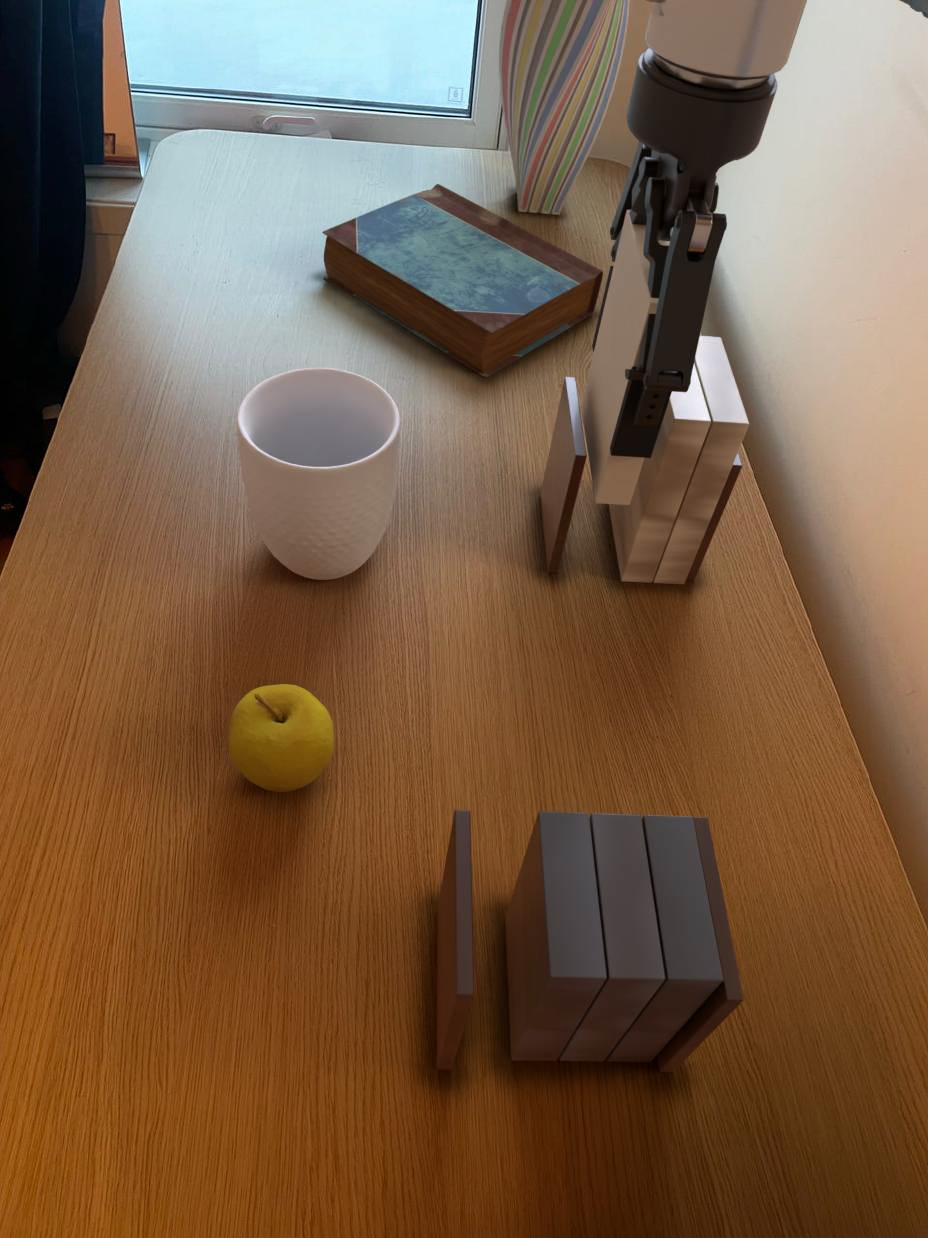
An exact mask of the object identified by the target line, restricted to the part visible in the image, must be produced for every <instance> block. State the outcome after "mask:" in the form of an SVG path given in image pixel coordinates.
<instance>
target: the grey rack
mask: <svg viewBox="0 0 928 1238" xmlns="http://www.w3.org/2000/svg"><path fill="white" fill-rule="evenodd" d="M452 816H453V817H452V824H451V828H450V835H449V840H448V845H447V852H446V857H445V862H444V867H443V874H442V880H441V885H440V891H439V897H438V902H437V929H436V930H437V936H436V937H437V940H436V941H437V942H436V943H437V944H436V945H437V946H436V948H437V949H436V951H437V952H436V956H437V957H436V958H437V959H436V961H437V965H436V966H437V967H436V970H437V971H436V1070H439V1071H443V1070H444V1071H445V1070H446V1071H450V1070H452V1069H453V1066H454V1062H455V1059H456V1056H457V1054H458V1049H459V1047H460V1046H459V1045H460V1043H461V1040H462V1036H463V1034H464V1030H465V1026H466V1022H467V1020H468V1017H469V1013H470V1010H471V1006H472V1003H473V1001H474V996H475V967H474V966H475V964H474V963H475V961H474V915H473V914H474V913H473V912H474V910H473V908H474V907H473V868H472V867H473V866H472V864H473V863H472V861H473V860H472V859H473V858H472V820H471V819H472V815H471V809H460V808H459V809H454V811H453V815H452ZM710 826H711V825H710V822H709V818H708V817H707V816H706V817H705V816H692V815H668V814H667V815H665V814H664V815H663V814H642V815H641V814H636V813H635V814H634V813H633V814H632V813H630V814H629V813H606V812H605V813H603V812H602V813H600V812H599V813H598V812H592V813H591V814H590V813H589V812H574V811H573V812H572V811H571V812H569V811H544V810H542V811H541V810H540V811H538V813H537V816H536V819H535V822H534V825H533V828H532V831H531V834H530V838H529V839H528V840H529V841H528V844H527V847H526V850H525V853H524V856H523V859H522V863H521V866H520V869H519V872H518V874H517V878H516V881H515V885H514V888H513V891H512V894H511V897H510V900H509V903H508V907H507V909H506V913H505V916H504V923H505V924H504V926H505V948H506V949H505V951H506V971H507V973H506V974H507V992H508V995H507V996H508V1016H509V1017H508V1019H509V1020H508V1021H509V1039H510V1040H509V1041H510V1042H509V1043H510V1059H511V1061H521V1062H522V1061H524V1062H525V1061H531V1062H534V1061H535V1062H557V1061H558V1060H559V1061H560V1062H605V1061H606V1062H612V1063H613V1062H617V1063H619V1062H622V1063H625V1062H627V1063H628V1062H629V1063H632V1062H633V1063H652V1061H653V1060H654V1059H655V1058H656V1057H657V1065H658V1071H659V1072H660V1073H673V1072H675V1071H676V1070H677V1069H678V1068H679V1067H680V1066H681V1065H682V1064H683V1063H684V1061H686V1060H687V1059H688V1057H690V1056H691V1055H692V1054H693V1052H694V1051H695V1050H696V1049H698V1048H699V1047H700V1045H702V1044H703V1043H704V1041H705V1040H706V1039H708V1038H709V1037H710V1035H712V1033H713V1032H714V1031H715V1030H716V1029H718V1027H719V1026H720V1025H721V1024H722V1023H723V1022H724V1021H725V1020H726V1019H727V1018H728V1017H729V1016H730V1015H731V1014H732V1013H733V1012H734V1011H735V1010H736V1009H737V1008H738V1007H739V1006H740V1005H741V1004H742V1003H743V1002H744V1000H745V997H744V993H743V992H744V991H743V988H742V982H741V977H740V973H739V968H738V963H737V958H736V952H735V946H734V943H733V936H732V932H731V928H730V923H729V917H728V913H727V907H726V902H725V897H724V892H723V887H722V881H721V877H720V871H719V867H718V861H717V856H716V851H715V847H714V842H713V837H712V831H711V827H710Z"/></svg>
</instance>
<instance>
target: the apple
mask: <svg viewBox="0 0 928 1238" xmlns="http://www.w3.org/2000/svg"><path fill="white" fill-rule="evenodd" d="M334 742H335V731H334V723H333V720H332V717H331V715H330V712H329V711H328V710H327V707H325V706H324V705H323V704H322V702H320V700H319V699H318V698H316V697H315V696H314V695H313V694H312V693H311V691H309V690H307V689H305V688H304V687H301V686H298V685H295V684H289V683H279V684H269V685H263V686H259V687H256V688H254V689H252V690H250V691H249V692H248V693H246V694H245V695H244V696H243V697H242V698H241V699H240V700H239V702H238V703H237V705H236V706H235V708H234V710H233V713H232V715H231V718H230V725H229V735H228V754H229V758H230V759H229V760H230V761H231V762H232V764H233V766H234V767H235V768H236V769H237V770H238V771H239V772H240V774H242V775H243V776H244V777H245V778H246V779H247V780H248V782H250V783H252V784H254V785H256V786H257V787H260V788H261V789H264V790H266V791H270V792H276V793H277V792H278V793H287V792H293V791H296V790H299V789H302V788H304V787H306V786H308V785H310V784H311V783H313V782H314V781H315V780H316V779H317V778H318V777H320V776H321V775H322V774H323V772H325V770H326V768H327V767H328V765H329V763H330V761H331V759H332V756H333V752H334V744H335V743H334Z"/></svg>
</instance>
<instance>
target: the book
mask: <svg viewBox="0 0 928 1238" xmlns="http://www.w3.org/2000/svg"><path fill="white" fill-rule="evenodd" d="M321 233H322V234H323V235H325V236H326V238H325V243H324V244H325V245H324V249H323V263H324V268H325V273H326V274H324V276H323V278H324V279H325V280H327V281H329V282H330V283H331V284H333V285H335V286H336V287H338V288H340V289H341V290H342V291H344V292H346V293H347V294H349V295H351V296H353V297H354V298H356V299H358V300H359V301H360V302H362V303H364V304H365V305H366V306H369V308H372V309H373V310H375V311H376V312H378V313H380V314H381V315H383V316H385V317H386V318H388V319H389V320H391V321H393V322H394V323H396V324H398V325H399V326H400V327H402V328H404V329H406V330H407V331H409V332H410V333H412V334H414V335H415V336H417V337H419V338H420V339H422V340H423V341H425V342H426V343H429V345H431V346H433V347H435V348H436V349H437V350H439V351H441V352H443V353H444V354H446V355H448V357H450V358H452V359H454V360H456V361H457V362H458V363H461V364H462V365H464V366H465V367H467V368H469V369H470V370H472V371H473V372H475V373H476V374H478V375H480V376H481V377H483V378H485V379H487V378H489V377H490V376H492V375H494V374H495V373H497V372H499V371H501V370H502V369H504V368H505V367H507V366H509V365H510V364H512V363H514V362H515V361H517V360H519V359H520V358H522V357H524V356H525V355H527V354H529V353H530V352H532V351H534V350H535V349H537V348H539V347H540V346H542V345H544V344H546V343H547V342H548V341H550V340H552V339H554V338H556V337H557V336H558V335H560V334H562V333H563V332H565V331H567V330H569V329H570V328H572V327H574V326H575V325H576V324H578V323H580V322H581V321H583V320H584V319H585V318H587V317H589V316H592V315H593V314H594V311H595V308H596V305H597V303H598V302H597V301H598V298H599V295H600V290H601V286H602V281H603V276H604V271H603V270H602V269H600V268H598V267H596V266H595V265H593V264H591V263H588V262H587V261H585V260H583V259H582V258H579V257H577V256H575V255H574V254H572V253H570V252H568V251H566V250H564V249H563V248H560V247H559V246H557V245H555V244H553V243H551V242H549V241H548V240H545V239H544V238H541V237H539V236H538V235H536V234H534V233H532V232H530V231H528V230H527V229H525V228H523V227H521V226H519V225H517V224H516V223H513V222H511V221H509V220H507V219H505V218H503V217H502V216H500V215H498V214H496V213H494V212H493V211H491V210H488V209H486V208H485V207H483V206H481V205H479V204H477V203H475V202H473V201H472V200H470V199H468V198H466V197H464V196H463V195H460V194H459V193H456V192H455V191H453V190H451V189H449V188H448V187H445V186H443V185H441V184H440V183H436V184H435V185H434V186H433V187H432V188H431V189H426V190H422V191H419V192H416V193H413V194H411V195H408V196H406V197H403V198H401V199H397V200H395V201H393V202H390V203H387V204H385V205H383V206H381V207H378V208H375V209H373V210H370V211H369V212H365V213H363V214H361V215H359V216H357V217H354V218H351V219H349V220H347V221H344V222H342V223H340V224H337V225H335V226H333V227H330V228H328V229H326V230H323V231H322V232H321Z"/></svg>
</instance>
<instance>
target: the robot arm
mask: <svg viewBox="0 0 928 1238" xmlns="http://www.w3.org/2000/svg"><path fill="white" fill-rule="evenodd" d="M645 1H646V2H648V3H651V5H650V9H649V14H648V20H647V24H646V29H645V32H644V33H645V34H644V39H645V43H646V45H647V46H648V48H646V50H645V51H643V53H641V55H640V56H639V58H638V60H637V65H636V68H635V69H636V70H635V74H634V77H633V78H634V79H633V83H632V84H633V85H632V89H631V93H630V98H629V103H628V107H627V112H626V124H627V127H628V129H629V131H630V133H631V134H632V135H633V136H634V138H635V139H636V140H637V141H638V144H637V147H636V149H635V152H634V157H633V159H632V163H631V165H630V168H629V172H628V174H627V178H626V180H625V184H624V187H623V190H622V193H621V195H620V199H619V201H618V205H617V208H616V211H615V214H614V217H613V220H612V223H611V226H610V228H609V235H610V236H609V237H610V241H614V244H613V245H612V247H611V249H610V257H611V262H612V263H615V259H616V254H617V250H618V246H619V241H620V237H621V233H622V228H623V224H624V220H625V216H626V211H627V210H630V212H629V214H630V218H631V222H632V224H638V225H646V232H645V240H644V249H643V254H644V257H645V258H646V259H647V260H648V261H649V262H650V269H649V278H648V288H649V291H650V295H651V298H659V301H658V306H657V312H656V314H650V313H649V316H648V320H647V323H646V327H645V331H644V334H643V338H642V341H641V345H640V353H639V361H638V366H637V367H633V366H632V368H631V369H625V377H626V379H627V380H628V383H627V387H626V390H625V394H624V398H623V401H622V405H621V409H620V412H619V416H618V420H617V423H616V427H615V431H614V434H613V438H612V442H611V445H610V453H611V456H625V457H641V458H651V456H652V453H653V449H654V446H655V443H656V440H657V437H658V434H659V431H660V428H661V424H662V421H663V418H664V415H665V412H666V409H667V406H668V403H669V399H670V396H671V393H672V392H687V391H688V389H689V386H690V383H691V375H692V371H693V366H694V361H695V356H696V351H697V346H698V342H699V337H700V336H701V332H702V327H703V323H704V322H703V321H704V317H705V312H706V307H707V302H708V298H709V293H710V288H711V283H712V278H713V275H714V269H715V263H716V260H717V257H718V253H719V251H720V248H721V245H722V241H723V239H724V235H725V232H726V230H727V227H728V222H727V214H726V213H721V212H720V213H719V212H716V211H717V206H718V199H719V194H720V193H719V192H720V185H719V183H718V182H716V181H717V173H718V171H719V170H720V169H721V168H722V167H724V166H726V165H728V164H730V163H731V162H734V161H739V160H743V159H744V158H746V157H748V156H749V155H751V154H752V153H753V152H755V150H756V149H757V148H758V146H759V144H760V142H761V139H762V136H763V133H764V130H765V128H766V124H767V121H768V118H769V115H770V111H771V108H772V105H773V102H774V99H775V97H776V94H777V90H778V81H777V79H776V75H775V74H777V73H779V72H780V71H782V70H783V68H784V67H785V66H786V65H787V64H788V60H789V58H790V54H791V52H792V49H793V46H794V42H795V39H796V36H797V33H798V30H799V27H800V24H801V22H802V21H801V20H802V17H803V14H804V10H805V8H806V5H807V2H808V0H645ZM898 1H899V2H902V3H904V4H906V5H908V6H909V8H910V9H912V10H913V11H915V12H917V13H921V15H922V16H923V17H924V18H925V19H928V0H898ZM658 240H661V241H669V242H670V244H669V246H665V245H661V244H660V243H659V242H658ZM613 267H614V265H610V267H609V271H608V275H607V280H606V284H605V288H604V292H603V296H602V301H601V305H600V309H599V314H598V318H597V322H596V327H595V331H594V336H593V339H592V343H591V344H592V345H591V348H592V353H594V349H595V345H596V340H597V336H598V332H599V327H600V323H601V319H602V315H603V310H604V306H605V302H606V297H607V293H608V289H609V284H610V280H611V276H612V271H613Z"/></svg>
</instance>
